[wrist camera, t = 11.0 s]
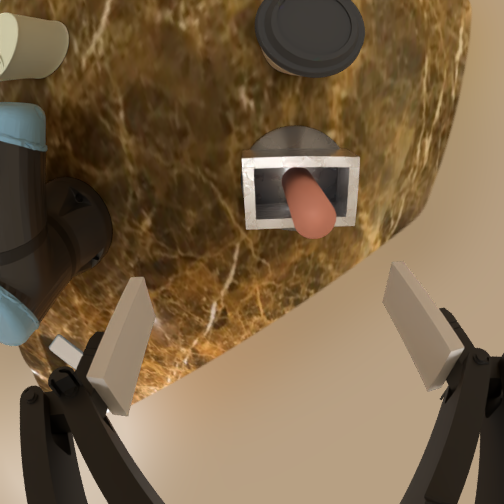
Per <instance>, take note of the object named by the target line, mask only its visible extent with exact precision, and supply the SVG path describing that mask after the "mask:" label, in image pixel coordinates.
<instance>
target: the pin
mask: <svg viewBox="0 0 504 504" xmlns="http://www.w3.org/2000/svg"><path fill="white" fill-rule="evenodd" d="M282 187H283V190H284V193H285V197H286V200H287V203H288V207H289V210H290V213H291V217H292V220H293V223H294V226H295V229H296V230H297V232H298V233H299V234H301V235H302V236H304V237H306V238H310V239H317V238H321V237H323V236H325V235H327V234H328V233H329V232H330V231H331V230H332V229H333V227H334V225H335V223H336V212H335V209H334V207H333V206H332V204H331V203H330V201H329V200H328V198H327V197H326V195H325V194H324V192H323V191H322V189H321V188H320V186H319V185H318V183H317V182H316V181H315V179H314V178H313V176H312V175H311V173H310V172H309V171H308V170H307V169H305V168H303V167H292V168H290V169H288V170H287V171H286V172H285V173H284V174H283V177H282Z"/></svg>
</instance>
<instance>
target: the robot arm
mask: <svg viewBox="0 0 504 504" xmlns="http://www.w3.org/2000/svg"><path fill="white" fill-rule="evenodd" d="M46 151H47V145H46V116H45V113H44V111H43V110H42V108H41V107H39V106H38V105H35V104H30V103H18V102H0V343H3V344H5V345H9V346H18V345H21V344H22V343H24V342H26V341H27V339H28V338H29V337H30V335H31V334H32V333H33V332H34V331H35V330H36V329H38V327H39V324H40V322H41V321H42V319H43V318H44V316H45V315H46V313H47V312H48V310H49V309H50V307H51V306H52V305H53V303H54V302H55V300H56V299H57V298H58V296H59V295H60V293H61V292H62V291H63V289H64V288H65V287H66V285H67V284H68V283H69V281H70V280H71V279H72V278H73V277H75V276H77V275H79V274H81V273H83V272H85V271H87V270H89V269H91V268H92V267H94V266H95V265H96V264H97V263H99V261H100V260H101V259H102V258H103V256H104V255H105V254H106V252H107V251H108V249H109V246H110V243H111V239H112V224H111V219H110V215H109V212H108V210H107V208H106V206H105V204H104V202H103V201H102V199H101V198H100V196H99V195H98V194H97V193H96V192H95V191H94V190H93V189H92V188H91V187H90V186H89V185H87V184H86V183H84V182H82V181H80V180H78V179H75V178H71V177H61V178H57V179H54V180H52V181H50V182H49V183H47V184H45V170H46ZM383 304H384V306H385V308H386V309H387V311H388V313H389V315H390V316H391V319H392V320H393V322H394V324H395V326H396V328H397V330H398V332H399V334H400V336H401V338H402V339H403V341H404V343H405V346H406V347H407V349H408V351H409V353H410V355H411V358H412V359H413V362H414V364H415V366H416V368H417V370H418V372H419V374H420V376H421V378H422V380H423V382H424V385H425V387H426V389H427V391H432V390H435V389H439V388H441V387H442V385H443V384H444V382H445V380H446V381H447V383H448V385H449V386H448V387H447V389H446V390H445V392H444V393H443V395H442V396H441V398H440V400H442V399H443V397H444V399H443V402H442V405H441V408H440V411H439V414H438V417H437V420H436V423H435V426H434V429H433V431H432V434H431V437H430V439H429V442H428V445H427V447H426V449H425V452H424V454H423V457H422V459H421V461H420V464H419V466H418V468H417V470H416V472H415V474H414V477H413V479H412V481H411V483H410V485H409V487H408V489H407V491H406V493H405V495H404V497H403V499H402V500H401V502H400V504H457V503H458V500H459V497H460V495H461V492H462V490H463V487H464V484H465V481H466V478H467V475H468V473H469V470H470V466H471V463H472V460H473V457H474V453H475V449H476V446H477V442H478V438H479V434H480V458H479V472H478V473H479V474H478V482H477V491H476V498H475V504H504V353H503V355H502V357H490V356H489V354H488V353H487V352H486V351H484V350H483V349H480V348H475V347H474V346H473V344H472V342H471V341H470V339H469V338H468V337H467V335H466V333H465V332H464V331H463V329H462V328H461V326H460V325H459V323H458V322H457V320H456V319H455V317H454V316H453V315H452V313H450V312H449V311H448V310H446V309H445V308H438V307H437V305H436V304H435V303H434V301H433V300H432V298H431V297H430V296H429V294H428V293H427V291H426V290H425V289H424V287H423V286H422V285H421V283H420V282H419V281H418V279H417V278H416V277H415V275H414V274H413V273H412V271H411V270H410V269H409V267H408V266H407V265H406V264H405V262H404V261H400V262H392V264H391V268H390V273H389V278H388V281H387V286H386V290H385V294H384V298H383ZM155 317H156V316H155V313H154V310H153V307H152V303H151V300H150V297H149V293H148V290H147V287H146V283H145V279H144V277H131V278H130V280H129V282H128V284H127V286H126V288H125V290H124V292H123V294H122V296H121V298H120V300H119V302H118V304H117V306H116V309H115V311H114V313H113V315H112V317H111V319H110V322H109V324H108V326H107V328H106V331H105V332H96V333H95V334H94V335H93V336H92V337H91V338H90V339H89V341H88V344H87V346H86V349H85V350H84V352H83V356H82V357H81V359H80V361H79V364H78V366H77V368H76V371H75V372H74V370H73V369H72V368H70V367H60V368H57V369H56V370H55V371H53V372H52V374H51V375H50V377H49V380H48V385H49V387H50V388H51V389H52V391H51V392H43V391H42V389H41V388H40V387H38V386H30V387H28V388H27V389H25V390H24V391H23V393H22V395H21V398H20V439H21V456H22V467H23V476H24V484H25V491H26V497H27V503H28V504H88V503H87V499H86V496H85V492H84V488H83V484H82V480H81V476H80V471H79V467H78V462H77V457H76V452H75V447H74V441H73V437H74V439H75V441H76V443H77V445H78V448H79V449H80V452H81V454H82V456H83V458H84V460H85V462H86V464H87V466H88V468H89V470H90V472H91V474H92V476H93V478H94V479H95V481H96V483H97V485H98V487H99V488H100V490H101V492H102V494H103V495H104V497H105V499H106V500H107V502H108V504H165V503H164V502H163V501H162V499H161V498H160V497H159V495H158V494H157V493H156V491H155V490H154V489H153V487H152V486H151V485H150V483H149V482H148V481H147V479H146V478H145V476H144V475H143V473H142V472H141V471H140V469H139V468H138V466H137V465H136V463H135V462H134V460H133V459H132V457H131V456H130V454H129V453H128V451H127V449H126V448H125V446H124V445H123V443H122V441H121V440H120V438H119V436H118V435H117V433H116V431H115V430H114V428H113V426H112V424H111V422H110V421H109V419H108V417H107V416H106V411H107V408H108V409H109V410H110V412H111V413H112V414H114V415H121V416H128V414H129V410H130V406H131V402H132V398H133V394H134V391H135V387H136V383H137V379H138V375H139V372H140V368H141V364H142V361H143V357H144V354H145V350H146V347H147V344H148V340H149V337H150V333H151V330H152V327H153V324H154V320H155ZM72 434H73V435H72Z"/></svg>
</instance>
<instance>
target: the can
mask: <svg viewBox="0 0 504 504" xmlns="http://www.w3.org/2000/svg"><path fill="white" fill-rule="evenodd" d="M68 45H69V34H68V31H67V28H66V27H65V25H64V24H62V23H61V22H59V21H50V20H44V19H39V18H33V17H27V16H21V15H15V14H11V13H1V14H0V81H6V80H14V79H25V78H36V79H40V78H44V77H47V76H49V75H50V74H52V73H53V72H54V71H55V70H56V69H57V68H58V67H59V66H60V64H61V63H62V61H63V59H64V57H65V55H66V53H67V50H68Z"/></svg>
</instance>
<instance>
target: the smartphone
mask: <svg viewBox="0 0 504 504" xmlns="http://www.w3.org/2000/svg"><path fill="white" fill-rule="evenodd" d="M49 349H50V350H51V351H52V352H53V353H55V354H56V355H57V356H58V357H60V358H61V359H62V360H64V361H65V362H66V363H67V364H69V365H70V366H71V367H73V368H74V369H75V370H76V368H77V366H78V364H79V361H80V359H81V357H82V356H83V352H82V351H81V350H80V349H78V348H77V347H76V346H74V345H73V344H72V343H70V342H69V341H68V340H67V339H65V338H64V337H63V336H62V335H59V334H58V335H57V336H56V338H55V339H54V340H53V342H52V343H51V345H50V346H49Z"/></svg>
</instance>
